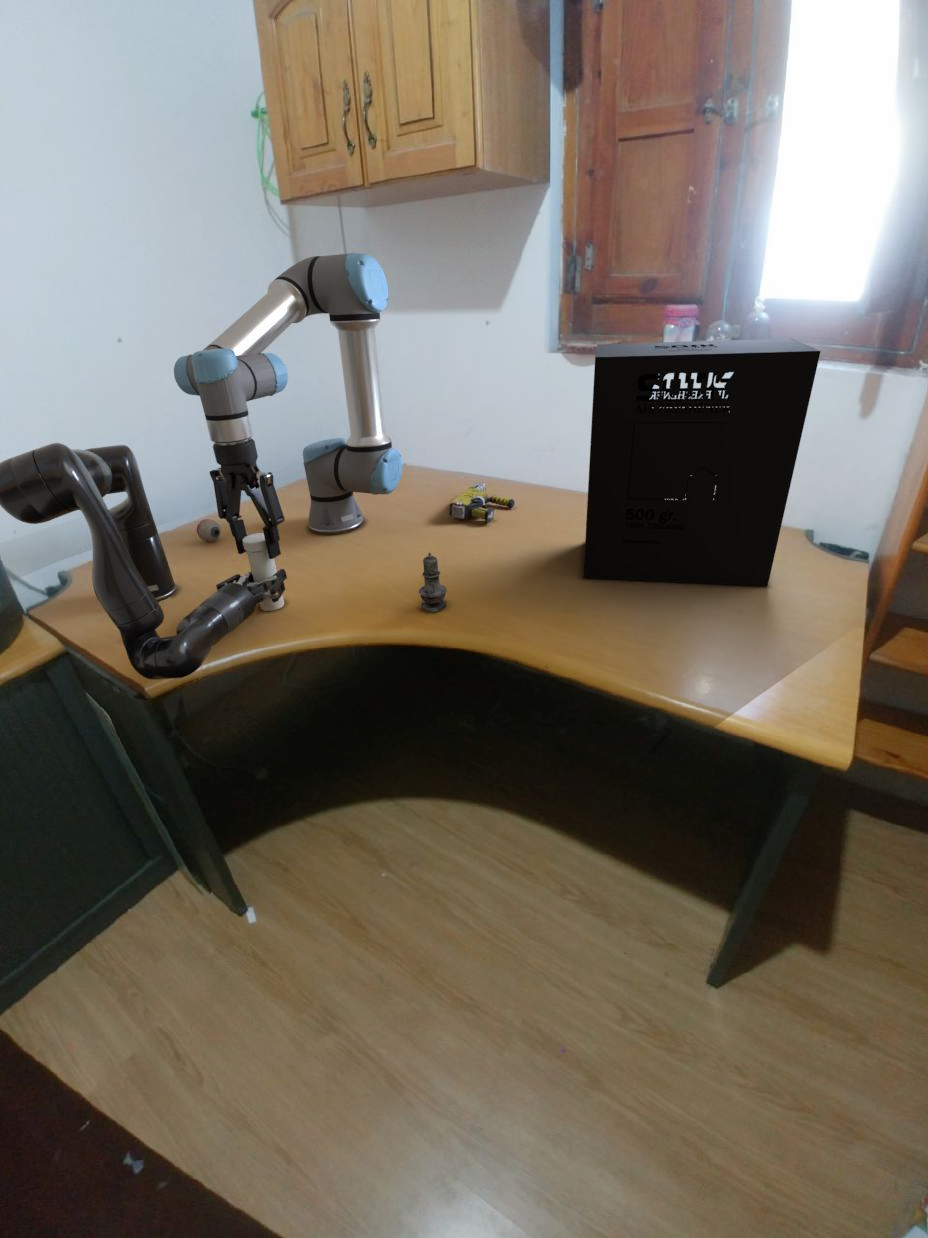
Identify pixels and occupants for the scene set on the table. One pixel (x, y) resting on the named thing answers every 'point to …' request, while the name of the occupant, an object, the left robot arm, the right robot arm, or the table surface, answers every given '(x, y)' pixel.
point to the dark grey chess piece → (432, 586)
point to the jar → (264, 575)
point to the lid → (254, 542)
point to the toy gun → (476, 504)
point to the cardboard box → (693, 458)
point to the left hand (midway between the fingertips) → (272, 572)
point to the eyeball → (208, 530)
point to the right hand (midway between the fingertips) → (259, 553)
